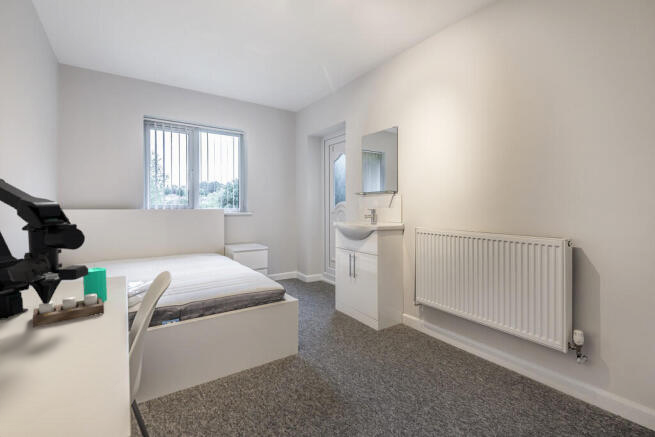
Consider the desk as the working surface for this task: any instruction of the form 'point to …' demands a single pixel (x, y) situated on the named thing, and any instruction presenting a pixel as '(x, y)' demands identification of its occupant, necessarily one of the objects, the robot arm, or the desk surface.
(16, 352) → the desk surface
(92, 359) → the desk surface
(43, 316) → the button board
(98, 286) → the candle
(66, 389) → the desk surface
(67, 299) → the button middle
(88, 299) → the button far
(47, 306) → the button near
